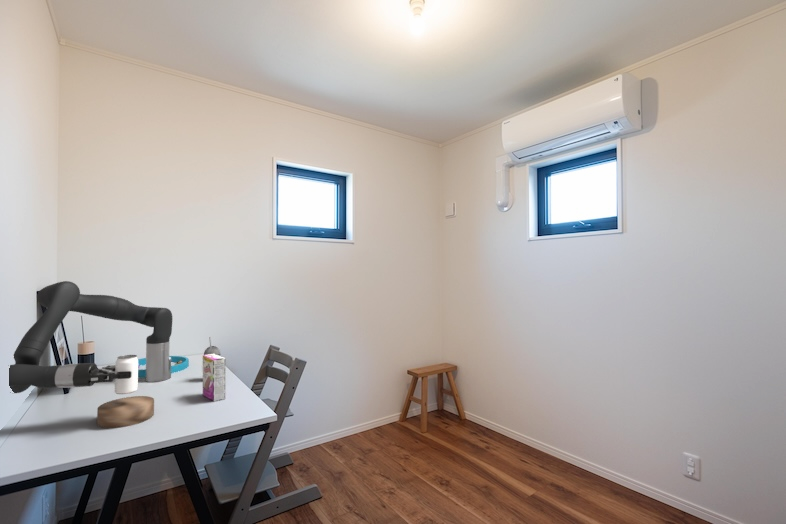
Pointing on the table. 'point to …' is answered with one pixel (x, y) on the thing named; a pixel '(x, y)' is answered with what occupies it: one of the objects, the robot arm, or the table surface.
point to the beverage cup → (212, 350)
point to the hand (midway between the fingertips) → (134, 372)
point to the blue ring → (179, 366)
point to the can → (124, 365)
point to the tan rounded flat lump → (125, 411)
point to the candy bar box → (214, 377)
